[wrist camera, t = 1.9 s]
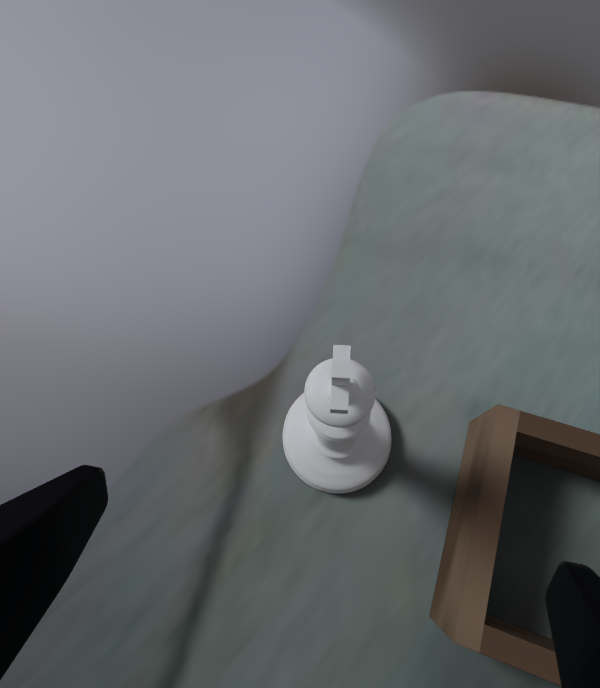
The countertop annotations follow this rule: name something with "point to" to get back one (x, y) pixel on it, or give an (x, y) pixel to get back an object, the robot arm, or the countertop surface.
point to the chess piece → (337, 427)
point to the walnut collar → (484, 527)
